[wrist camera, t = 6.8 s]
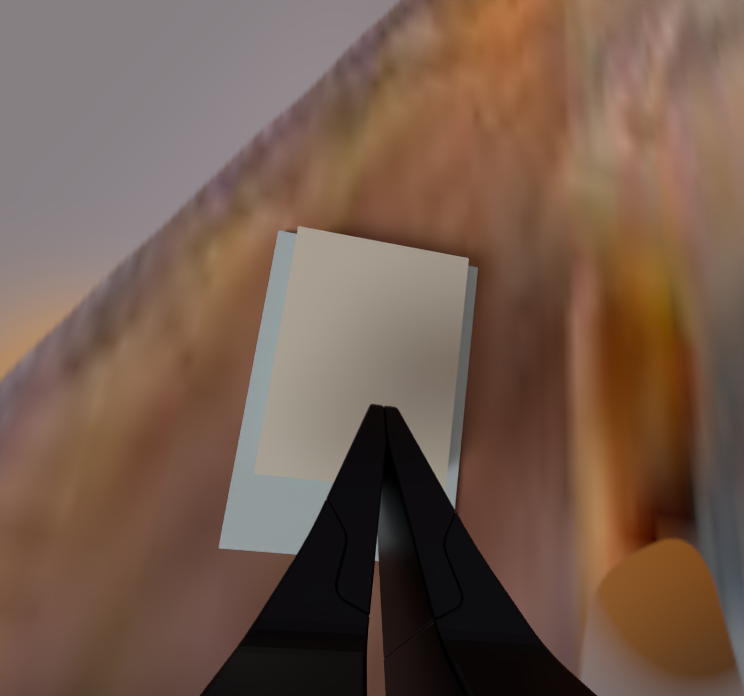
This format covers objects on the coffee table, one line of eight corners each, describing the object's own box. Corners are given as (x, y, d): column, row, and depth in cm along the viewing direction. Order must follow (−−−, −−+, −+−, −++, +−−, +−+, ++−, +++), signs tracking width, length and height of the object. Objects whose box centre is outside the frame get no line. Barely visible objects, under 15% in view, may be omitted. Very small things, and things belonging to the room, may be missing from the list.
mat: (446, 562, 17) (449, 566, 16) (221, 543, 16) (218, 548, 15) (475, 269, 19) (478, 267, 19) (279, 233, 18) (278, 230, 17)
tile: (445, 493, 15) (468, 258, 16) (253, 473, 14) (298, 226, 15) (430, 479, 17) (453, 272, 18) (264, 461, 16) (302, 245, 17)
